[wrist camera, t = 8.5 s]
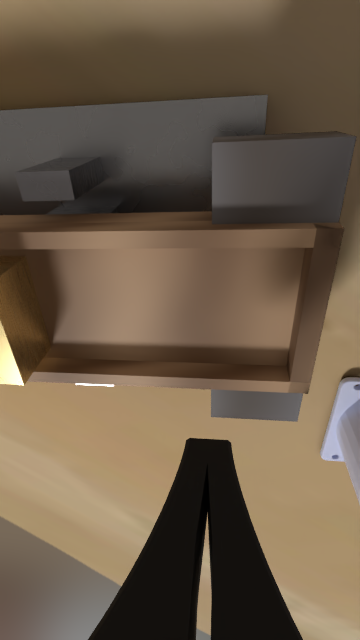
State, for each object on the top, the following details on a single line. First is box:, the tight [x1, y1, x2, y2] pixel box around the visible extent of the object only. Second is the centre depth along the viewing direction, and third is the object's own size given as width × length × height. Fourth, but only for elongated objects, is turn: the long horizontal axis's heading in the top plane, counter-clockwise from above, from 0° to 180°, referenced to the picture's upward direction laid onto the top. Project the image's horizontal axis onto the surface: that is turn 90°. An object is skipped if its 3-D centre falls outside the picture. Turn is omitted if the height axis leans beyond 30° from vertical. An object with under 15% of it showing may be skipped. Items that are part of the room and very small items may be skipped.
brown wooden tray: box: [0, 131, 356, 421], centre depth 14 cm, size 20×12×3 cm, turn 93°
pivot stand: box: [0, 95, 268, 386], centre depth 16 cm, size 16×14×5 cm
